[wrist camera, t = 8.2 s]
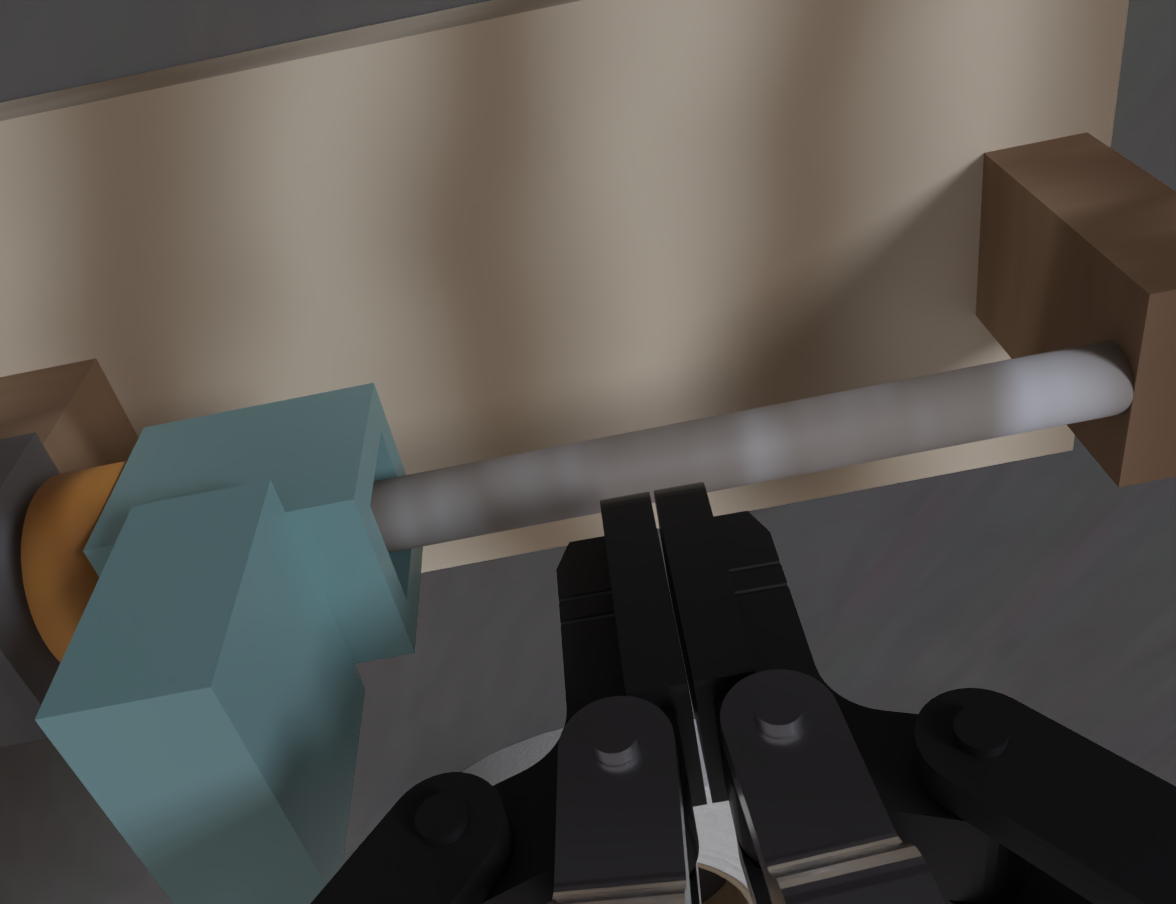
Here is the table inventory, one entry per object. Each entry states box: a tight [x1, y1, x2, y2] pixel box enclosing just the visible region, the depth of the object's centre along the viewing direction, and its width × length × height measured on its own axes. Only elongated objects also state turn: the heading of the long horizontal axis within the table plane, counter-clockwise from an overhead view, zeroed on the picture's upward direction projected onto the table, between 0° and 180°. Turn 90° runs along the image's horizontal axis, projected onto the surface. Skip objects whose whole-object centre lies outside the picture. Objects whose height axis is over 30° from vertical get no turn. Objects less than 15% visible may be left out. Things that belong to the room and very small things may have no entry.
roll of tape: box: [463, 719, 753, 904], centre depth 34 cm, size 16×15×3 cm
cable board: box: [0, 0, 1176, 748], centre depth 19 cm, size 24×12×9 cm, turn 100°
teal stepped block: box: [35, 383, 423, 904], centre depth 15 cm, size 4×4×7 cm
